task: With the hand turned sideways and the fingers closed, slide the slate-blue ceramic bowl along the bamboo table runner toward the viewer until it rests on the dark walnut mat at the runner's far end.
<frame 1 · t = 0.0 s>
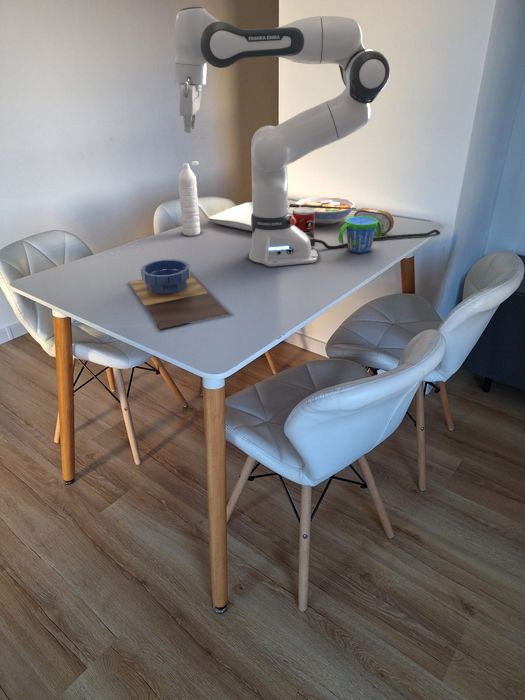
hand: (189, 130, 148), 39 cm above the table, tool pointing down, fingers open, 8 cm apart
canned food: (303, 241, 182), on the table
square plate: (255, 223, 202), on the table
bowl: (167, 287, 146), resting on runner
ramen bowl: (323, 223, 201), on the table
tin: (371, 233, 189), on the table
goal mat: (184, 308, 134), on the table
water bottle: (194, 233, 192), on the table
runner: (167, 288, 146), on the table
snack cup: (359, 250, 172), on the table
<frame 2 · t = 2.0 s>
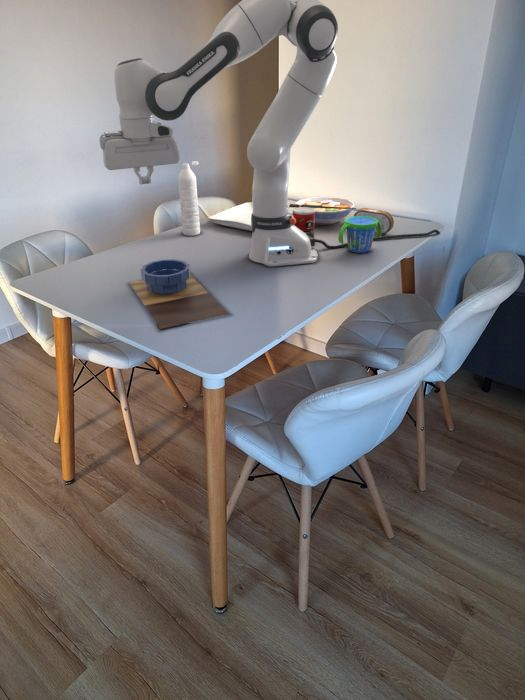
hand: (145, 183, 142), 27 cm above the table, tool pointing down, fingers closed
nothing on the table moved.
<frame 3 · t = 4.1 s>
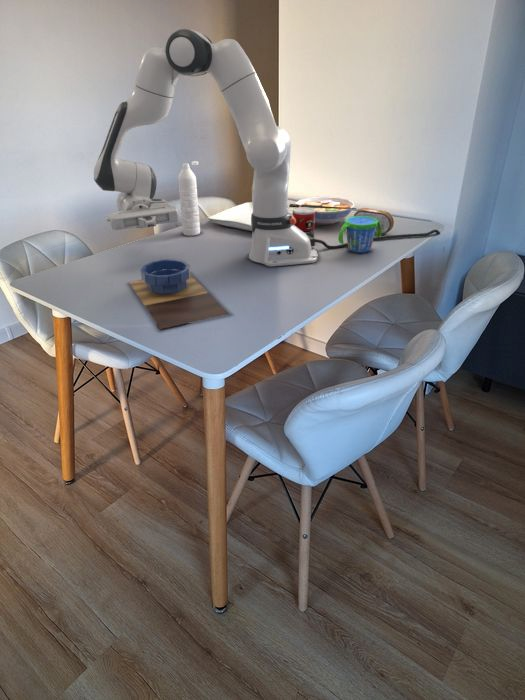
hand: (150, 224, 146), 16 cm above the table, tool horizontal, fingers closed
nothing on the table moved.
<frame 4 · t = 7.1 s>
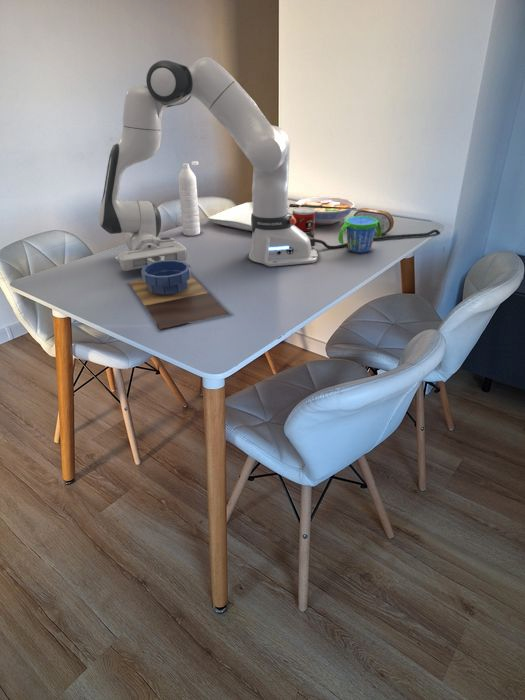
hand: (159, 265, 148), 5 cm above the table, tool horizontal, fingers closed
bowl: (168, 288, 145), resting on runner, touching gripper
everything else where it was.
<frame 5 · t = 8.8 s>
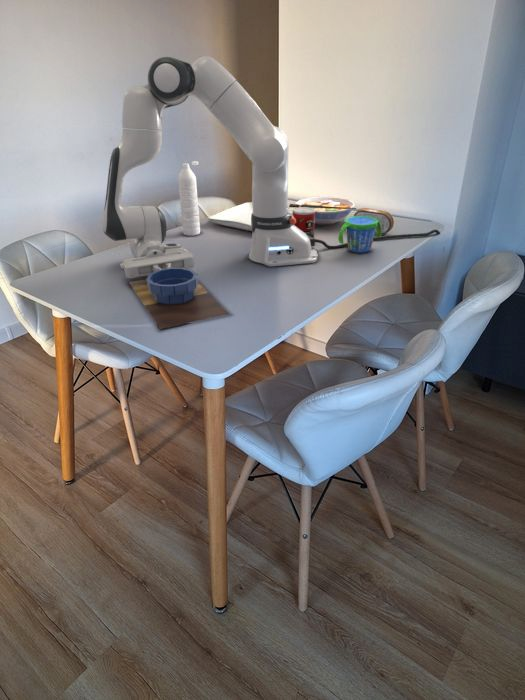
hand: (166, 272, 143), 5 cm above the table, tool horizontal, fingers closed, pressing on bowl
bowl: (174, 297, 140), resting on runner, touching gripper
everything else where it was.
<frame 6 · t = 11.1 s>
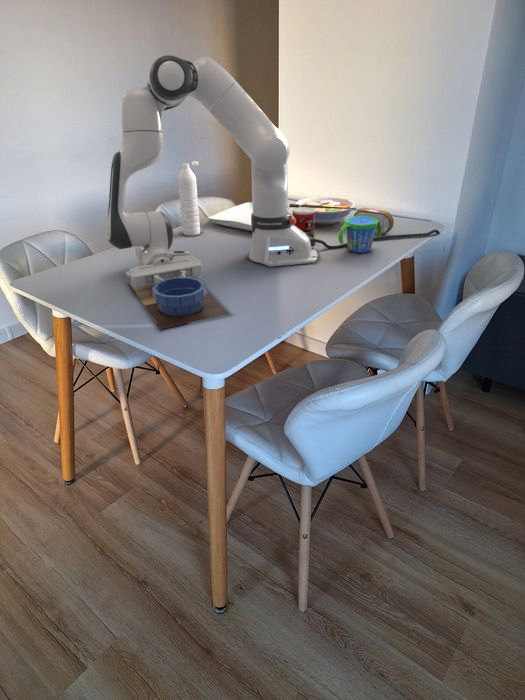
hand: (174, 281, 137), 5 cm above the table, tool horizontal, fingers open, 4 cm apart
bowl: (181, 307, 134), resting on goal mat
everything else where it was.
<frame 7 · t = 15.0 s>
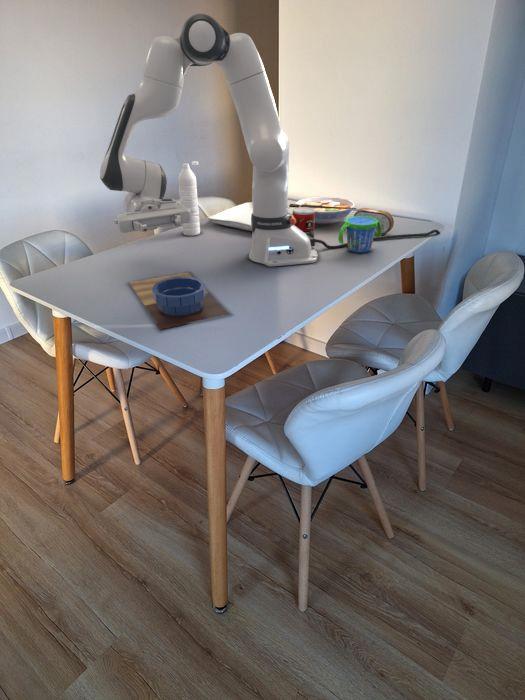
hand: (161, 225, 137), 18 cm above the table, tool horizontal, fingers open, 8 cm apart
nothing on the table moved.
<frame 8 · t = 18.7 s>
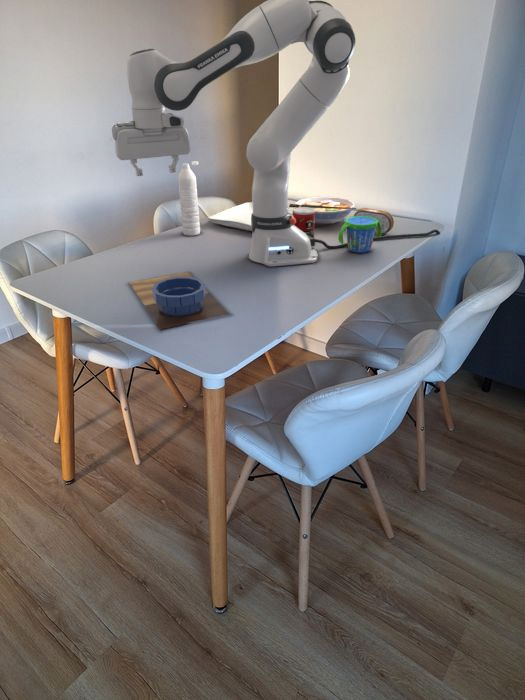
hand: (156, 174, 143), 29 cm above the table, tool pointing down, fingers open, 8 cm apart
nothing on the table moved.
at the end: bowl 0.8 cm from the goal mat (horizontally); bowl moved 14.9 cm from its start; bowl tilted 0° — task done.
